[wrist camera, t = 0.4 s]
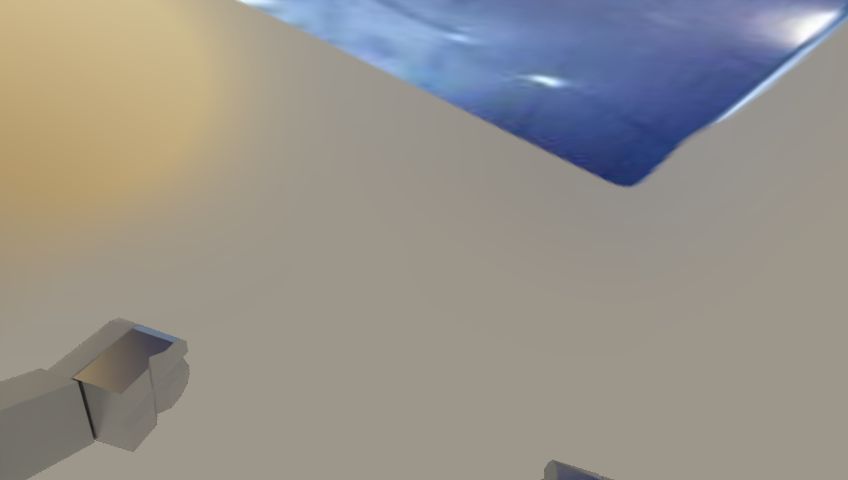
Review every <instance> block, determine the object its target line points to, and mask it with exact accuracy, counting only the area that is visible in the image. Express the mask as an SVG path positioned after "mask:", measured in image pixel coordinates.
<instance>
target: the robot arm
mask: <svg viewBox="0 0 848 480" xmlns="http://www.w3.org/2000/svg"><path fill="white" fill-rule="evenodd" d="M187 352H188V350H187V343H186V341H185V340H182V339H179V338H177V337H174V336H171V335H168V334H165V333H162V332H160V331H157V330H154V329H151V328H148V327H145V326H143V325H140V324H137V323H134V322H131V321H128V320H125V319H122V318H117V319H114V320H112V321H110V322H108V323H107V324H106V325H104V326H103V327H102V328H101V329H99V330H98V331H97V332H96V333H94V334H93V335H92V336H90V337H89V338H88V339H87V340H85V341H84V342H83V343H82V344H80V345H79V346H78V347H77V348H75V349H74V350H73V351H72V352H70V353H69V354H68V355H66V356H65V357H64V358H62V359H61V360H60V361H59V362H57V363H56V364H55V365H54V366H52V367H51V368H50V369H48V370H44V369H37V370H34V371H31V372H28V373H25V374H22V375H19V376H16V377H13V378H10V379H7V380H4V381H1V382H0V480H26V479H28V478H30V477H32V476H34V475H35V474H37V473H39V472H41V471H43V470H45V469H47V468H48V467H50V466H52V465H54V464H56V463H58V462H59V461H61V460H63V459H65V458H67V457H69V456H70V455H72V454H74V453H76V452H78V451H80V450H81V449H83V448H85V447H87V446H89V445H91V444H92V443H94V440H97V441H100V442H103V443H106V444H109V445H113V446H116V447H119V448H122V449H126V450H129V451H132V452H134V451H135V450H136V448H137V447H138V446H139V445H140V444H141V443H142V441H143V440H144V439H145V438H146V437H147V435H148V434H149V433H150V432H151V431H152V430H153V429H154V427H155V426H156V425H157V414H158V413H160V412H163V411H165V410H167V409H169V408H172V406H173V405H174V404H175V403H176V401H177V400H178V399H179V398H180V397H181V395H182V393H183V391H184V389H185V387H186V385H187V383H188V378H189V365H188V364H187V363H186V361H185V360H184V359H183V356H184V355H185V354H186V353H187ZM542 480H613V479H610V478H607V477H604V476H600V475H599V474H597V473H593V472H590V471H587V470H584V469H581V468H577V467H574V466H571V465H568V464H564V463H561V462H557V461H554V460H552V461H550V462H549V463H548V464H547V466H546V467H545V469H544V479H542Z"/></svg>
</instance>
